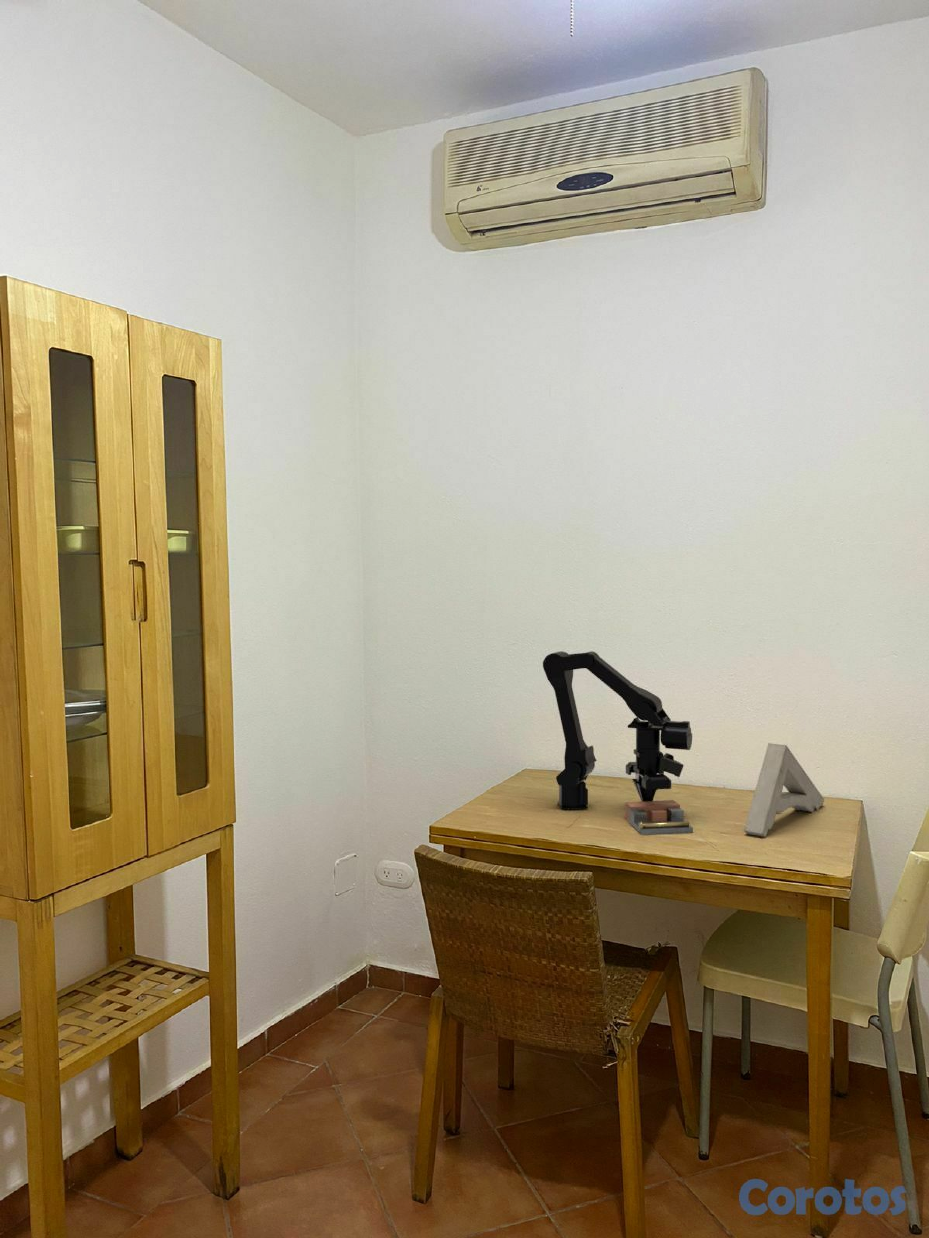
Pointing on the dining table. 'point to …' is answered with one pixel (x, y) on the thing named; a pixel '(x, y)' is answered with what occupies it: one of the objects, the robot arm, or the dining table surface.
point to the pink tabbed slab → (651, 809)
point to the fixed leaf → (672, 816)
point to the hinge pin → (662, 824)
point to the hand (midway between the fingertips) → (647, 809)
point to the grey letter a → (780, 790)
